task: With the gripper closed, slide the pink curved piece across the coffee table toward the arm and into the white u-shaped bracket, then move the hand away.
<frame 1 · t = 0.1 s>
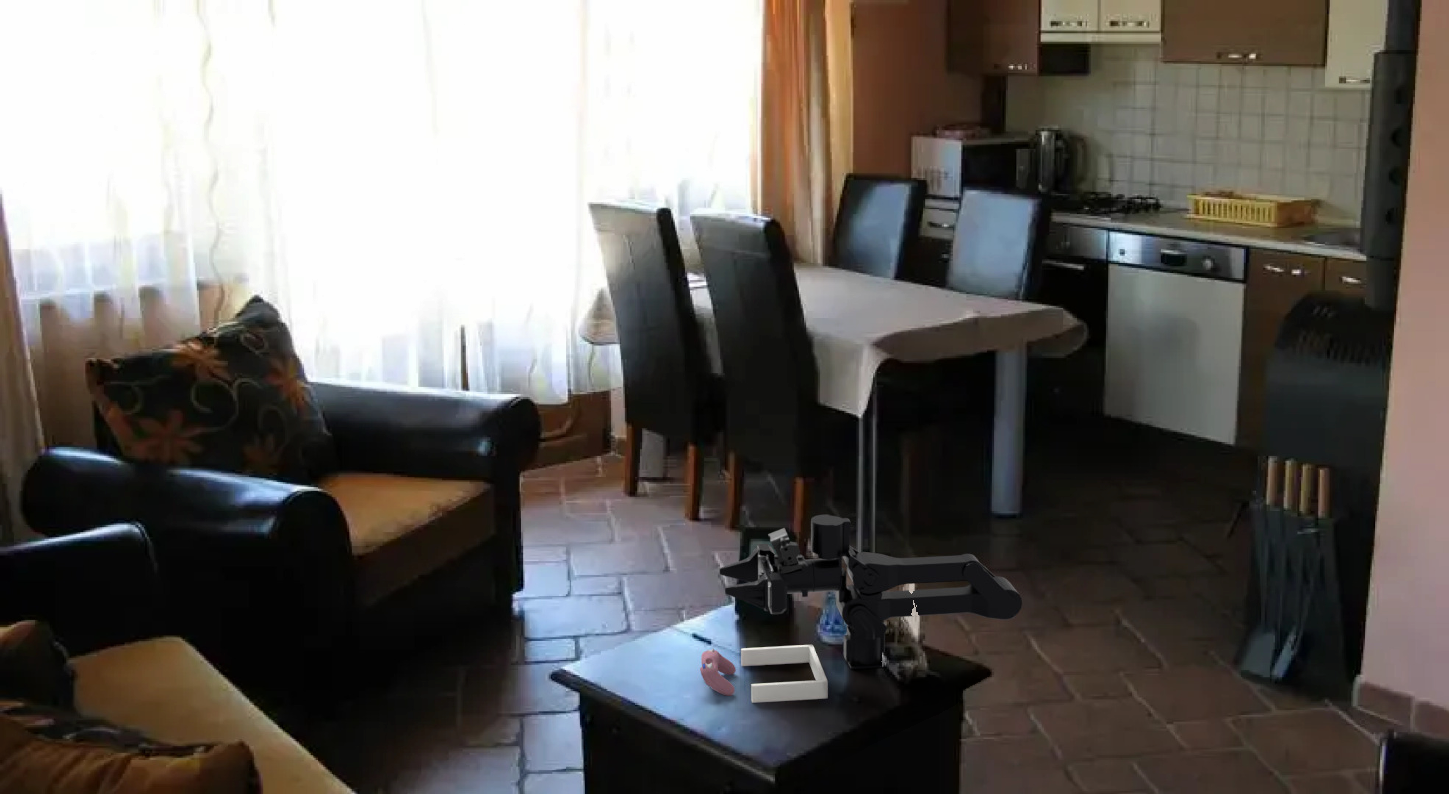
hand: (722, 580, 260), 17 cm above the table, tool horizontal, fingers open, 9 cm apart
white u-shaped bracket: (781, 681, 259), on the table
pink curved piece: (718, 686, 258), on the table
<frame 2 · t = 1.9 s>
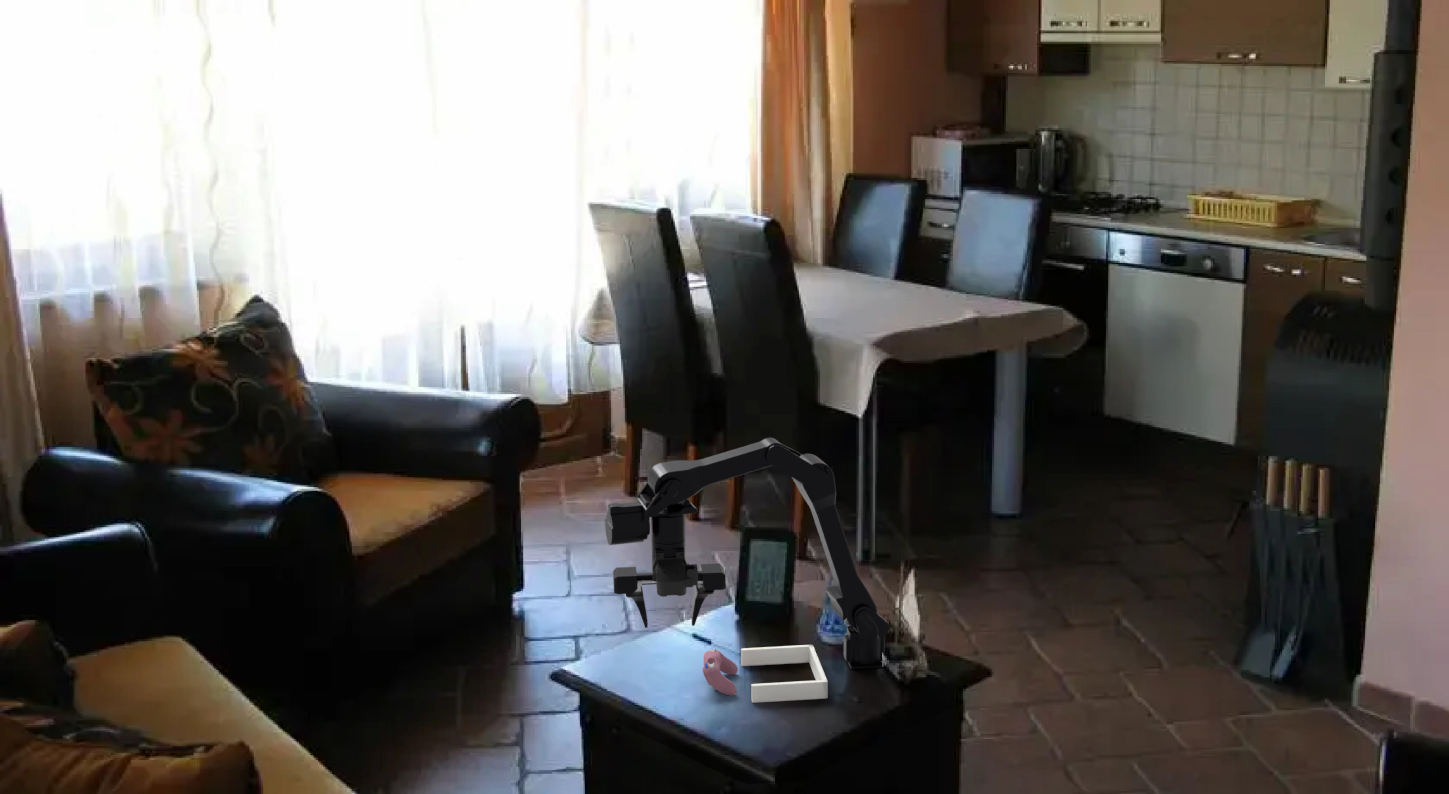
hand: (669, 626, 255), 11 cm above the table, tool pointing down, fingers open, 8 cm apart
nothing on the table moved.
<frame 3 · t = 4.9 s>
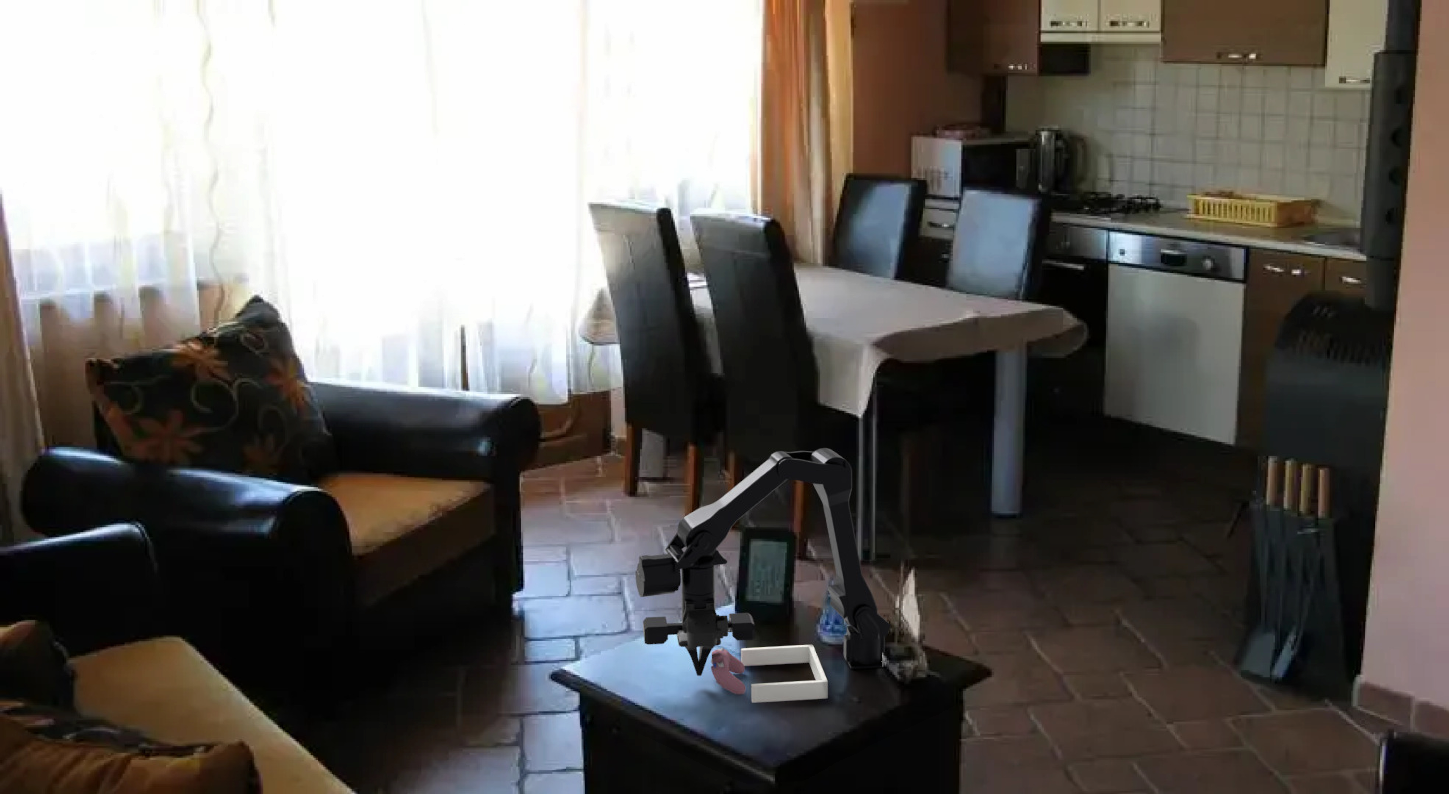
hand: (699, 675, 257), 2 cm above the table, tool pointing down, fingers closed
pink curved piece: (728, 685, 258), on the table, touching gripper
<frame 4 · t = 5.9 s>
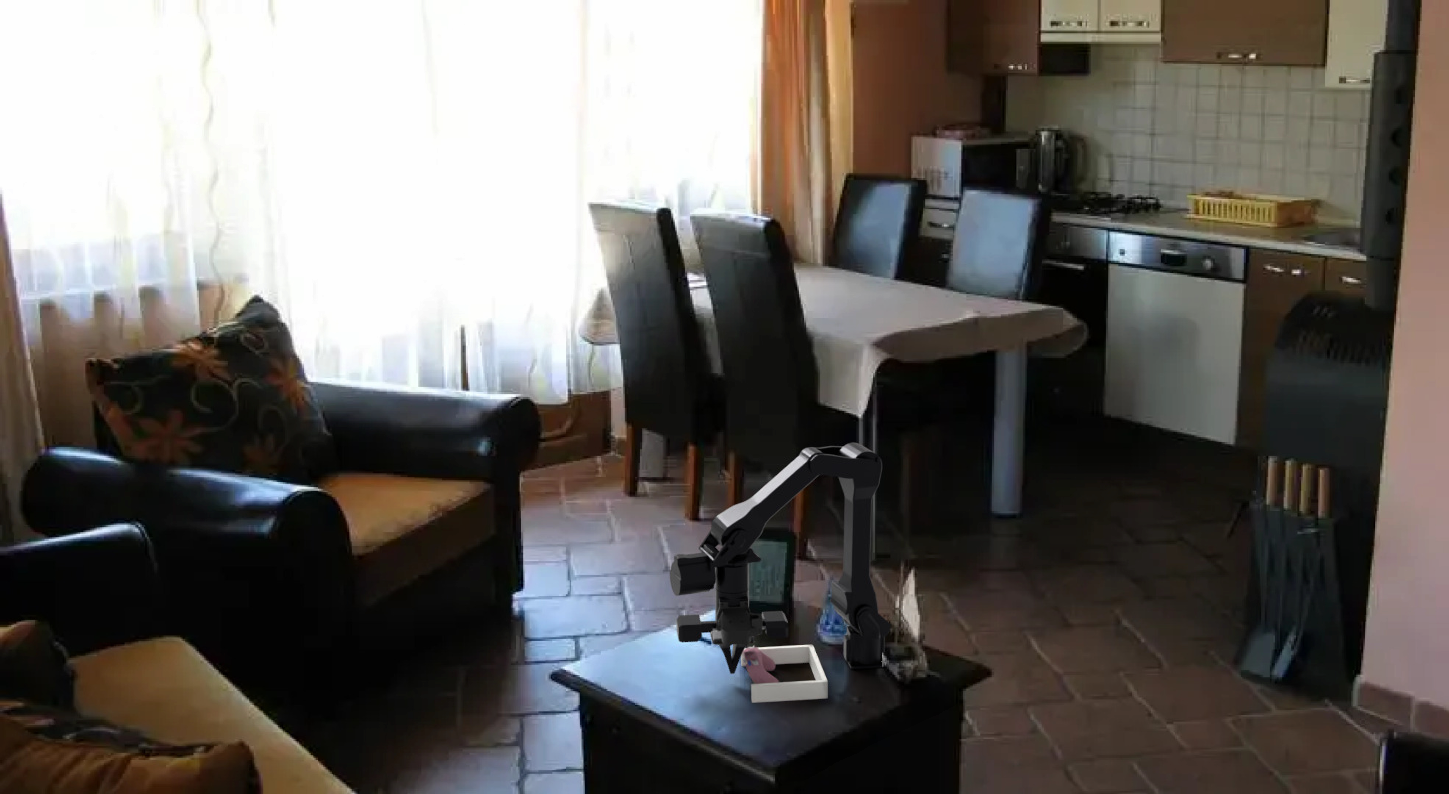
hand: (732, 672, 258), 2 cm above the table, tool pointing down, fingers closed
pink curved piece: (761, 682, 259), on the table, touching gripper
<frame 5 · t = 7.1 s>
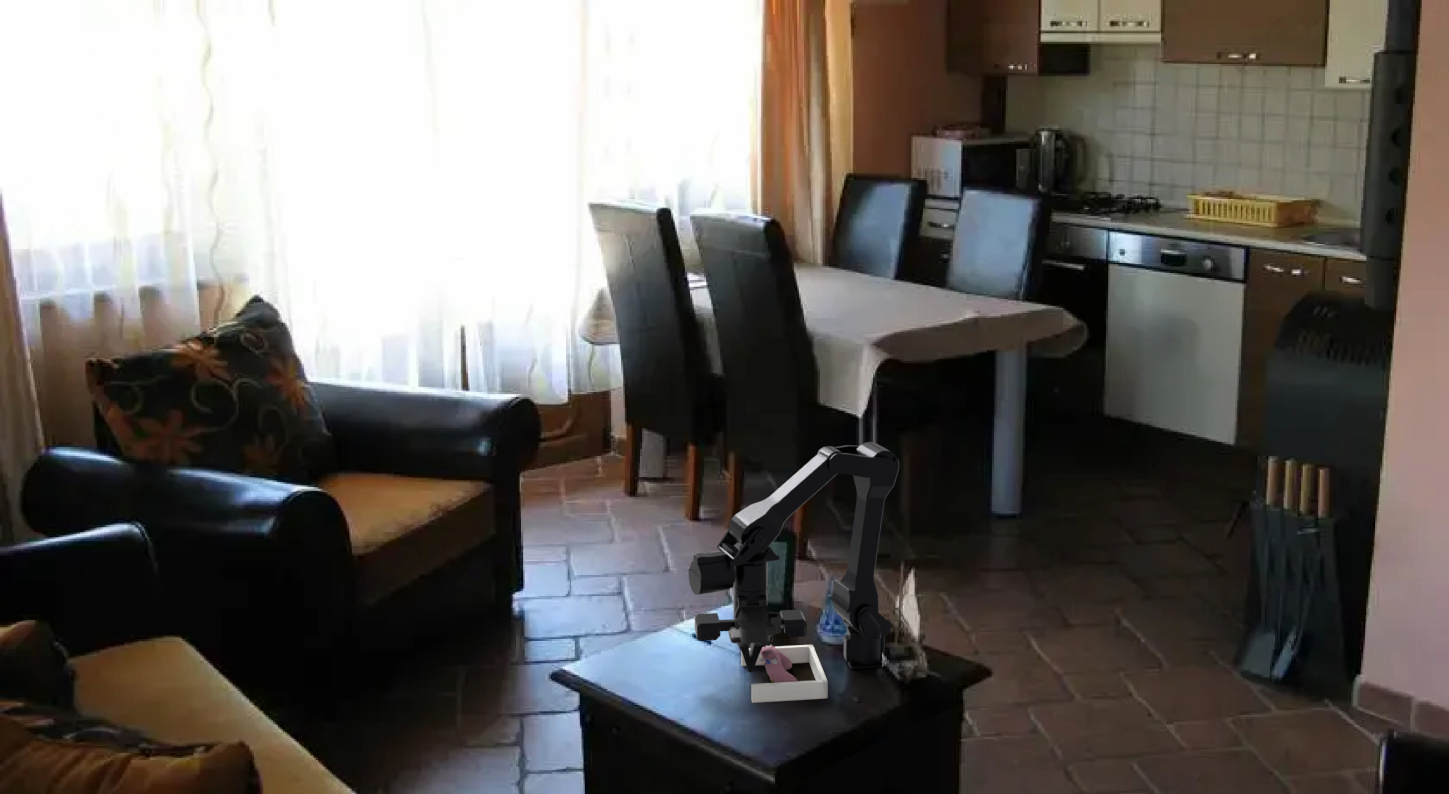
hand: (750, 671, 258), 2 cm above the table, tool pointing down, fingers closed
pink curved piece: (778, 681, 259), on the table, touching gripper
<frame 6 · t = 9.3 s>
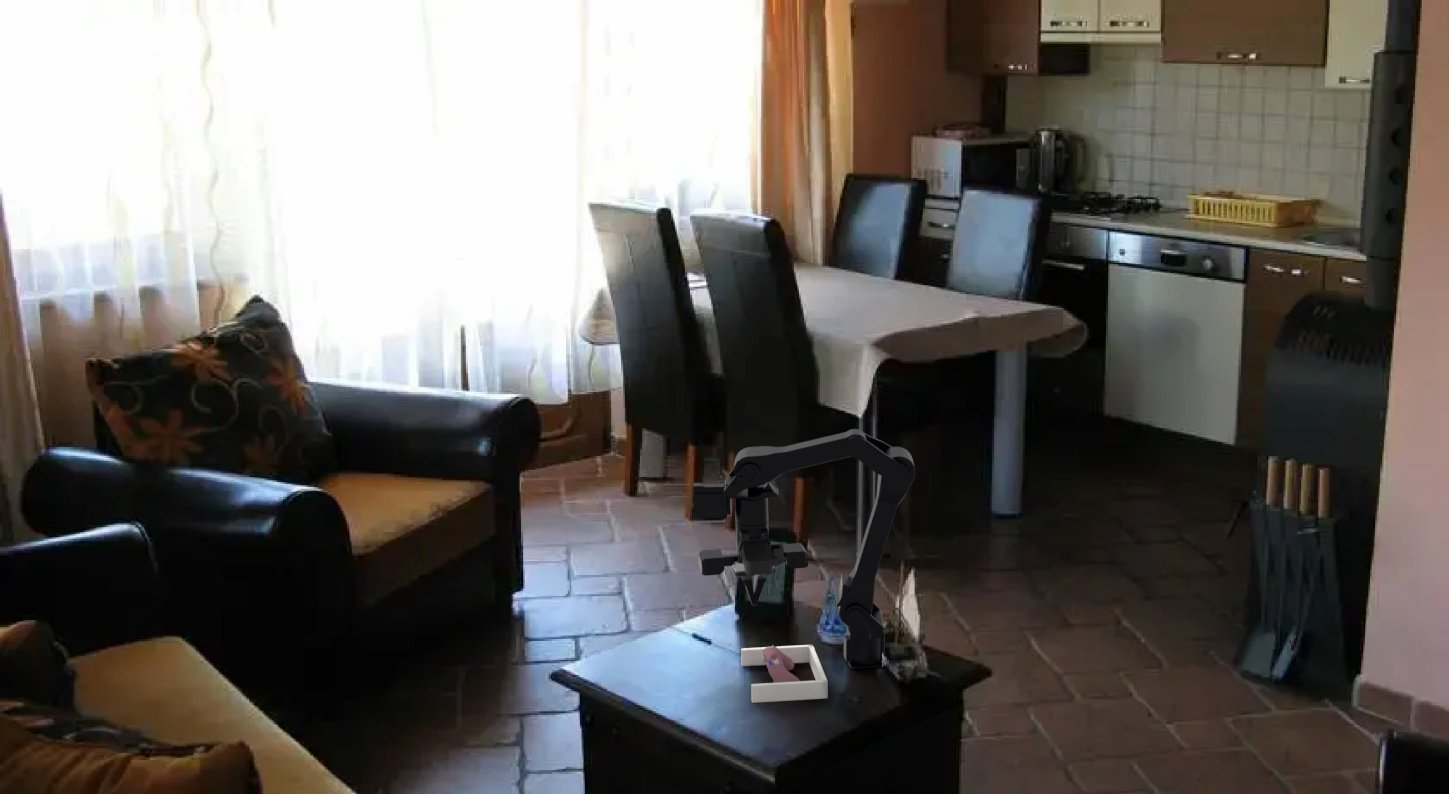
hand: (754, 604, 265), 11 cm above the table, tool pointing down, fingers closed
pink curved piece: (780, 682, 260), on the table
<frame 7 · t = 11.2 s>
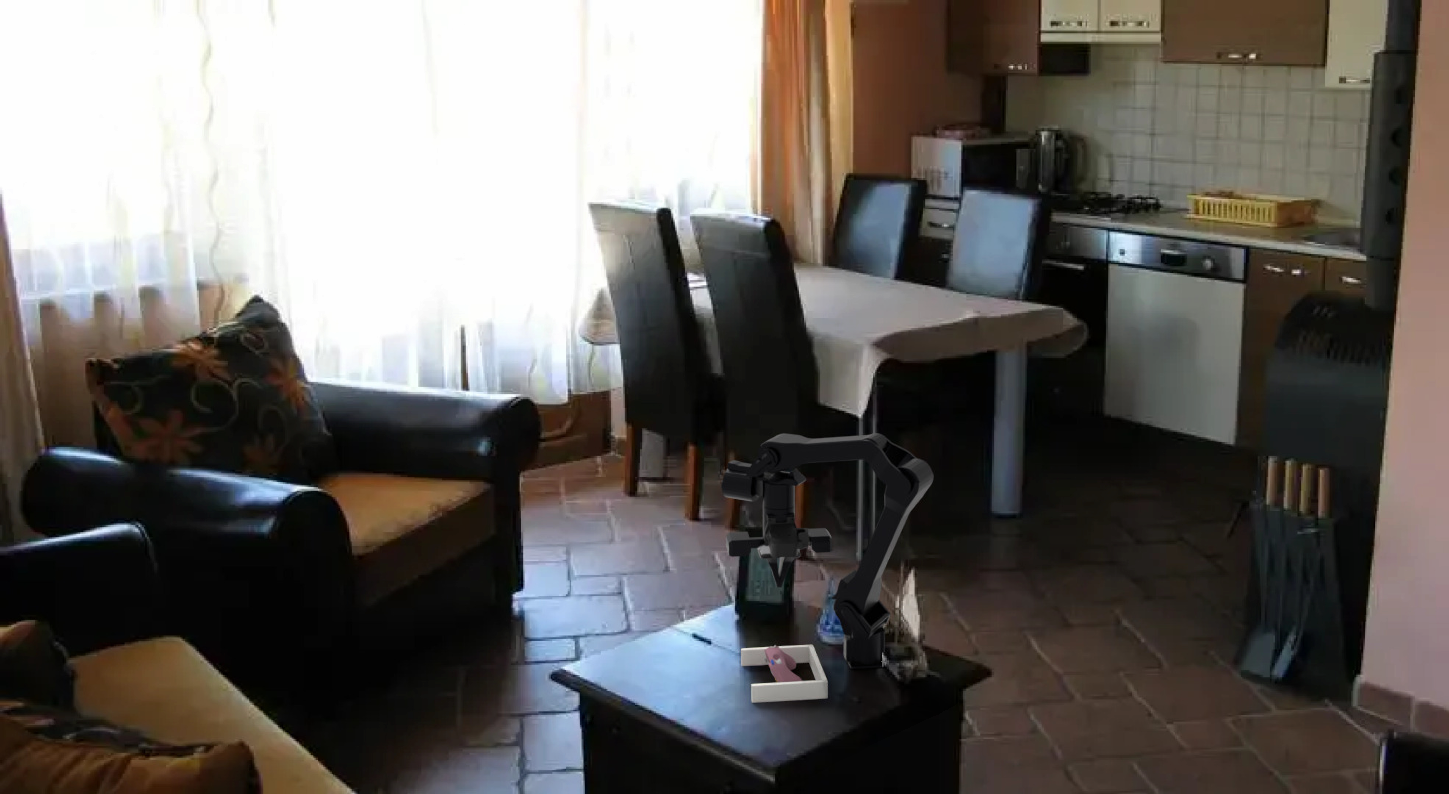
hand: (779, 586, 272), 11 cm above the table, tool pointing down, fingers closed
nothing on the table moved.
at the end: pink curved piece inside the target area on the white u-shaped bracket (0.3 cm from its centre), point 0.0 cm above the white u-shaped bracket's base; pink curved piece moved 11.4 cm from its start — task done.
